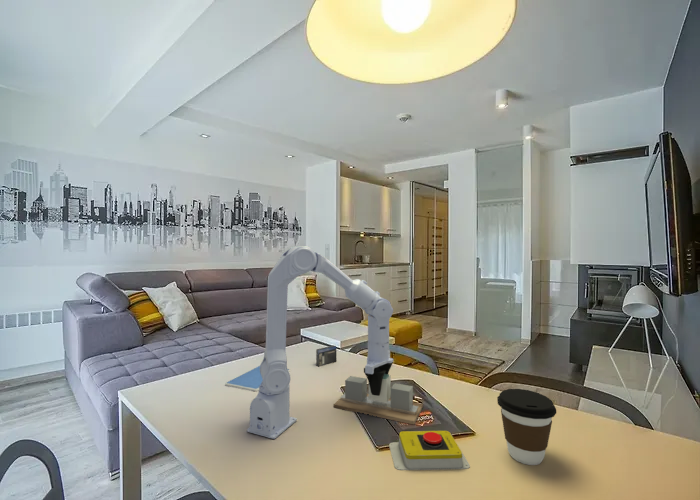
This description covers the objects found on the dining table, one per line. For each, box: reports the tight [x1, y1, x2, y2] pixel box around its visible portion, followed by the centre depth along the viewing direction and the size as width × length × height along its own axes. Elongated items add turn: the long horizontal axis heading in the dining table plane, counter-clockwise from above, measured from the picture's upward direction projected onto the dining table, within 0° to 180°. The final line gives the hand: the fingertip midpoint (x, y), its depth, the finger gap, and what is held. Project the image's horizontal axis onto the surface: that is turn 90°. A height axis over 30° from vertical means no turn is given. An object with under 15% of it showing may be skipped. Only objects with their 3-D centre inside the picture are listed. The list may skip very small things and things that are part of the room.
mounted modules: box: [344, 375, 414, 411], centre depth 93 cm, size 4×18×5 cm, turn 66°
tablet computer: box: [224, 365, 291, 392], centre depth 114 cm, size 19×13×1 cm, turn 158°
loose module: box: [368, 373, 392, 403], centre depth 93 cm, size 4×5×6 cm
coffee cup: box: [496, 388, 557, 466], centre depth 71 cm, size 11×11×12 cm
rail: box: [339, 393, 418, 415], centre depth 93 cm, size 4×21×1 cm, turn 66°
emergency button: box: [388, 430, 471, 471], centre depth 72 cm, size 9×4×15 cm
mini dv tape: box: [315, 344, 337, 368], centre depth 127 cm, size 8×2×6 cm, turn 131°
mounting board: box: [333, 393, 424, 425], centre depth 93 cm, size 10×22×1 cm, turn 66°
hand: (378, 391), depth 93 cm, fingers closed on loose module, 4 cm apart
